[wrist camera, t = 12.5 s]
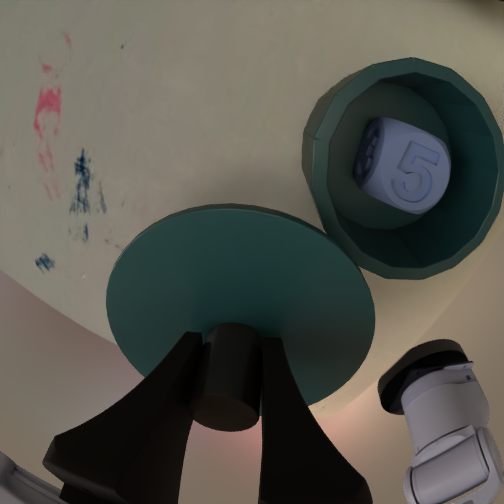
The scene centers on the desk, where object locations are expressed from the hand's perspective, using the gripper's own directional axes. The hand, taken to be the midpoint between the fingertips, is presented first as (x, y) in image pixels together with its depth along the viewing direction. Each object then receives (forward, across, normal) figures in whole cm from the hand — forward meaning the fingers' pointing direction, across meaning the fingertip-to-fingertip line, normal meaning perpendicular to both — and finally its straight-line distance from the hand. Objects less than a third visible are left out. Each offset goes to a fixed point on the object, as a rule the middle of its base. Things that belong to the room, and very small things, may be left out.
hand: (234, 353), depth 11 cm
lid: (+1, 0, 0) cm, 1 cm away
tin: (+9, -8, -7) cm, 14 cm away
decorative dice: (+9, -8, -6) cm, 14 cm away
